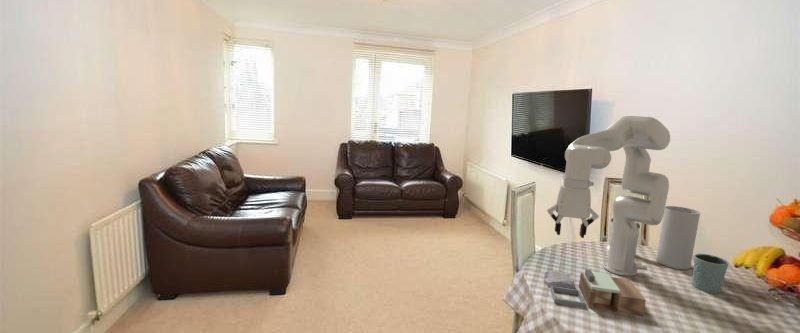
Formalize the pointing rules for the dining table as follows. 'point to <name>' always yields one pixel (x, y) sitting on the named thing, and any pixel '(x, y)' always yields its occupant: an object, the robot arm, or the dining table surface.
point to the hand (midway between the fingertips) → (569, 234)
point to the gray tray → (567, 302)
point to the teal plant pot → (709, 272)
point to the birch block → (603, 297)
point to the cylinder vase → (677, 237)
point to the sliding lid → (600, 281)
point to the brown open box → (616, 297)
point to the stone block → (558, 279)
